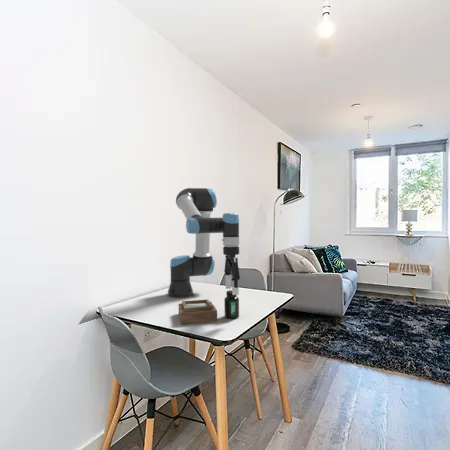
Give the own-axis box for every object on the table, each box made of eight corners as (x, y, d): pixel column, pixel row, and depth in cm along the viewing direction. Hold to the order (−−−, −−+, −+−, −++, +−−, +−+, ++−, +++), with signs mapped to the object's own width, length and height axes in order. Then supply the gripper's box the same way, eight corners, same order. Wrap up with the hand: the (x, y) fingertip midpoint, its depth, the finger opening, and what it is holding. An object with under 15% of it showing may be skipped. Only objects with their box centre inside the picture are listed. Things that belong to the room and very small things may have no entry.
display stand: (178, 313, 154) (178, 300, 154) (211, 311, 157) (210, 298, 157) (181, 324, 138) (181, 309, 138) (217, 321, 142) (217, 307, 142)
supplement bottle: (236, 319, 144) (236, 293, 144) (222, 318, 146) (222, 292, 146) (241, 315, 150) (240, 290, 150) (227, 313, 153) (227, 289, 153)
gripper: (218, 244, 159) (218, 286, 159) (229, 248, 135) (230, 298, 135) (232, 244, 161) (233, 285, 161) (246, 247, 136) (247, 296, 136)
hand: (231, 291), depth 148 cm, fingers open, 13 cm apart
